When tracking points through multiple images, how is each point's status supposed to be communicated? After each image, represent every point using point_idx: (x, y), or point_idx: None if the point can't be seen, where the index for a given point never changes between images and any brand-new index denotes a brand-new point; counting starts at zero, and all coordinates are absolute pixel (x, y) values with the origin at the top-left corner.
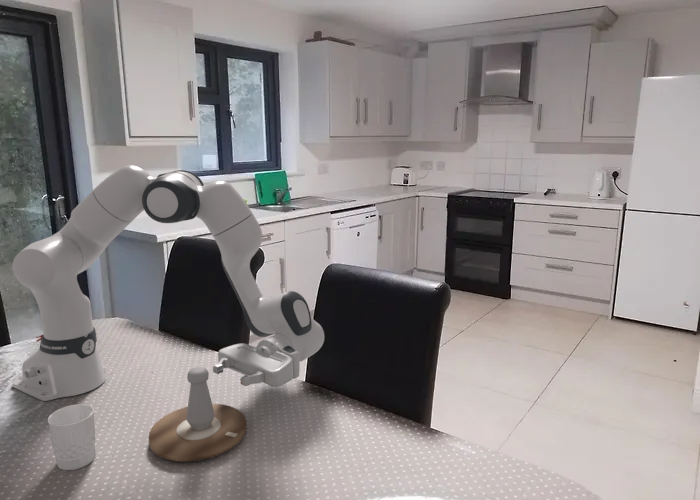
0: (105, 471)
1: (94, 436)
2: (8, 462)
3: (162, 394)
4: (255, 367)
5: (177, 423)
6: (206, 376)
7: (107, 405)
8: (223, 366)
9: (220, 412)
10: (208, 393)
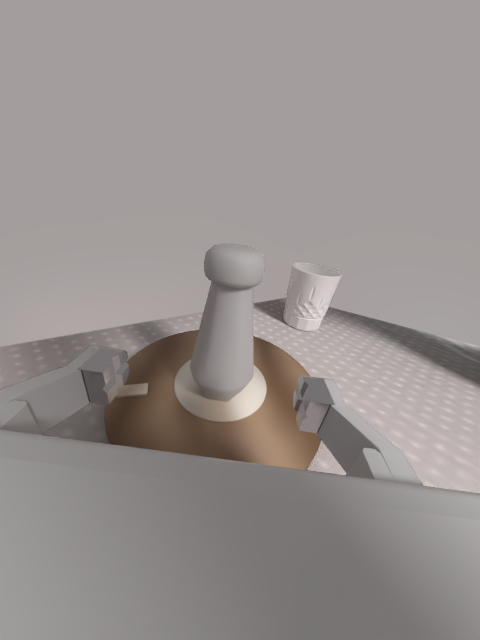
0: (258, 320)
1: (298, 304)
2: (337, 309)
3: (474, 483)
4: (38, 435)
5: (270, 376)
6: (205, 260)
7: (440, 392)
8: (349, 462)
9: (227, 452)
10: (207, 320)
